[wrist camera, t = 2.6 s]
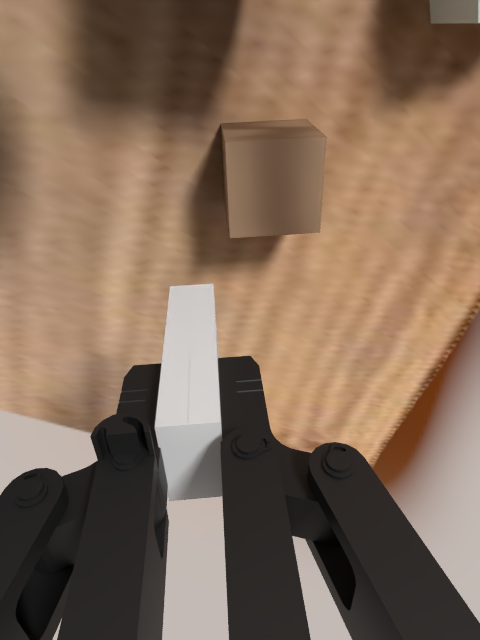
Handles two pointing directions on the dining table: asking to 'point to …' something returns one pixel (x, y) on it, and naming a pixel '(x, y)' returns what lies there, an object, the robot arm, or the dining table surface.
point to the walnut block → (273, 177)
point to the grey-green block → (454, 11)
